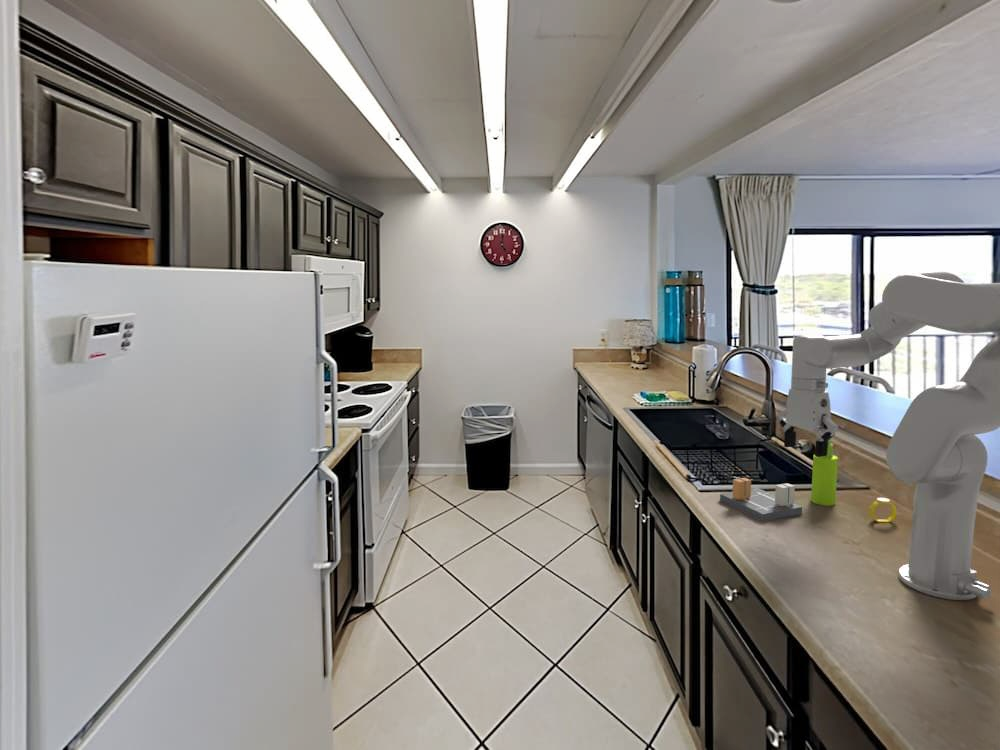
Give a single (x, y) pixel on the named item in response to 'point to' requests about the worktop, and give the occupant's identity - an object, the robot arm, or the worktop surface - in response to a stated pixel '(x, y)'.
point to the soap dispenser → (824, 478)
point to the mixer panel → (761, 505)
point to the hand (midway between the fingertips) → (804, 451)
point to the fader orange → (741, 488)
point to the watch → (883, 501)
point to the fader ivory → (784, 494)
